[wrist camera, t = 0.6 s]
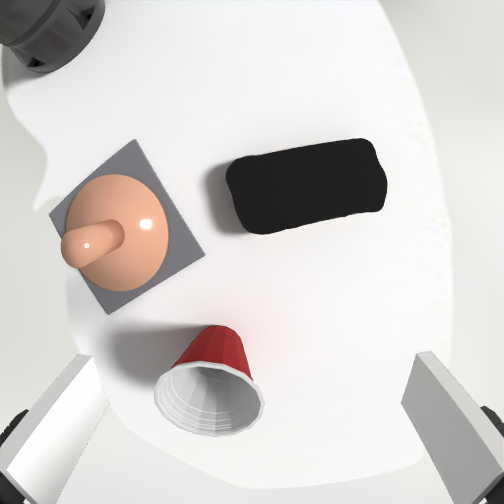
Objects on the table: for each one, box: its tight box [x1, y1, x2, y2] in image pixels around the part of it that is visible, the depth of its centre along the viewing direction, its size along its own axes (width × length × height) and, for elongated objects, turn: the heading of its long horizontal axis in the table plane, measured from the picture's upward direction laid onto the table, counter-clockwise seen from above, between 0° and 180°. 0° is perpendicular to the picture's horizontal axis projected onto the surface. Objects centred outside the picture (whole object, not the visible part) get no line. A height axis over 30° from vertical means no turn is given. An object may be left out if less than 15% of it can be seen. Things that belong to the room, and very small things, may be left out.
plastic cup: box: [154, 325, 265, 437], centre depth 31 cm, size 11×11×12 cm
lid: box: [61, 174, 170, 291], centre depth 28 cm, size 14×14×9 cm
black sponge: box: [226, 138, 387, 235], centre depth 30 cm, size 16×8×4 cm, turn 102°
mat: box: [49, 139, 205, 315], centre depth 33 cm, size 16×16×1 cm
